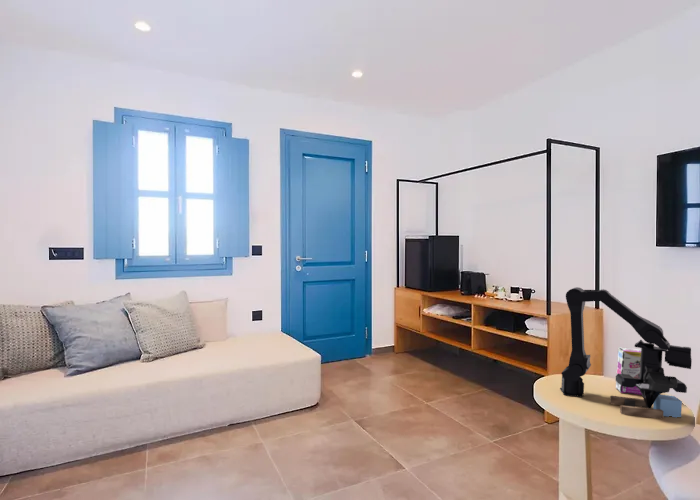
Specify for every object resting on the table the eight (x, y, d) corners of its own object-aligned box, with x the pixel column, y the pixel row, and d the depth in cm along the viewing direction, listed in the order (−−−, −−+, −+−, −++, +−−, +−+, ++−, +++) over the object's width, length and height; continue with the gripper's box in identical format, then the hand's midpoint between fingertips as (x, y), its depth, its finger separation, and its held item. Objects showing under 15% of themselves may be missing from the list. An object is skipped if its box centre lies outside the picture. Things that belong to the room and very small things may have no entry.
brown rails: (621, 413, 132) (621, 406, 132) (610, 402, 141) (610, 395, 141) (663, 418, 129) (663, 411, 129) (648, 406, 138) (649, 399, 138)
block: (659, 415, 131) (660, 399, 131) (653, 409, 136) (653, 394, 136) (681, 417, 130) (681, 401, 130) (673, 412, 134) (674, 396, 134)
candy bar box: (620, 393, 150) (622, 350, 149) (615, 388, 155) (617, 347, 154) (654, 396, 147) (657, 353, 147) (647, 391, 152) (650, 349, 152)
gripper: (630, 366, 128) (627, 414, 129) (698, 373, 124) (695, 422, 124) (616, 356, 139) (613, 400, 139) (678, 362, 134) (675, 407, 135)
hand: (648, 407), depth 134 cm, fingers closed
